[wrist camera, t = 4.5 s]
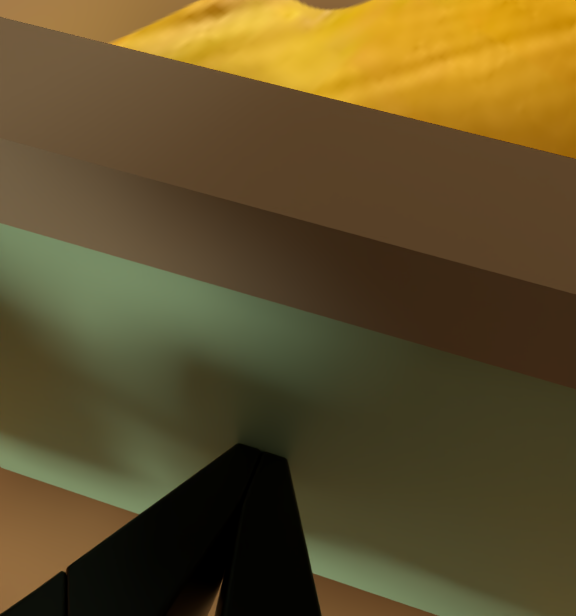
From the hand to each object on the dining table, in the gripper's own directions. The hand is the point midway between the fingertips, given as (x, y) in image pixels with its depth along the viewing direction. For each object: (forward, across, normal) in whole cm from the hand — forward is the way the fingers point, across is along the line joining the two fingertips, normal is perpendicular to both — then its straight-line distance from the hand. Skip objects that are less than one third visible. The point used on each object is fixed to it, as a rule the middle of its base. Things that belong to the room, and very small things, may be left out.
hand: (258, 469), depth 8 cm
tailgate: (+4, 0, +5) cm, 6 cm away
